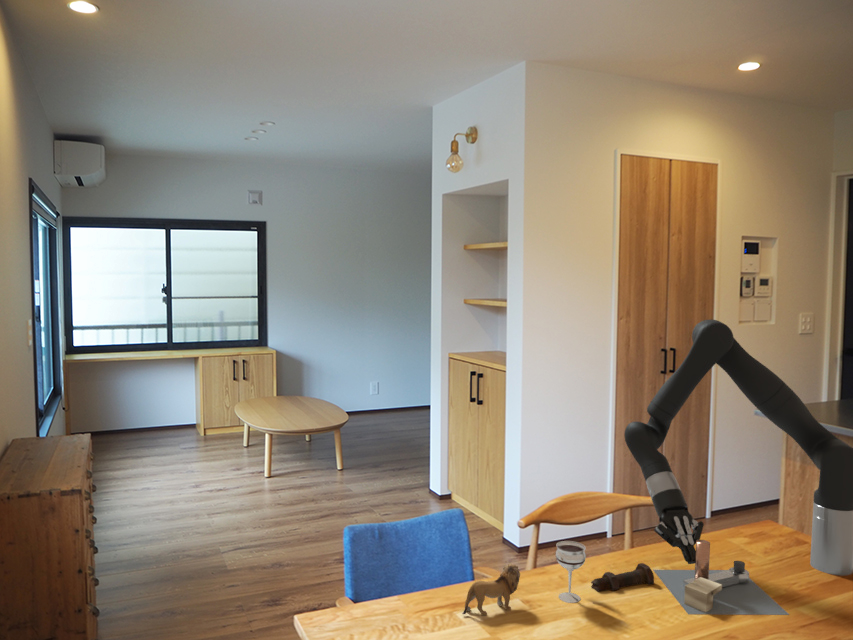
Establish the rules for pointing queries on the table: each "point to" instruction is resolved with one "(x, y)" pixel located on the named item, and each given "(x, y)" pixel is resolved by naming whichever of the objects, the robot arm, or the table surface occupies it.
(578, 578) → the table surface
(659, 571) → the board
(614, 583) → the bolt
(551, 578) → the table surface
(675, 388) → the robot arm
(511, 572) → the lion figurine
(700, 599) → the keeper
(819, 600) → the table surface
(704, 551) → the link
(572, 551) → the wineglass
